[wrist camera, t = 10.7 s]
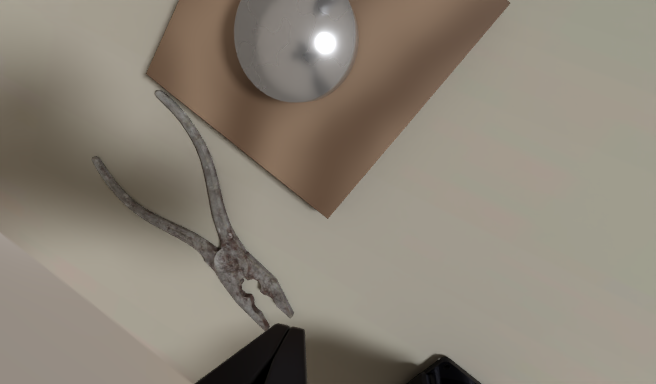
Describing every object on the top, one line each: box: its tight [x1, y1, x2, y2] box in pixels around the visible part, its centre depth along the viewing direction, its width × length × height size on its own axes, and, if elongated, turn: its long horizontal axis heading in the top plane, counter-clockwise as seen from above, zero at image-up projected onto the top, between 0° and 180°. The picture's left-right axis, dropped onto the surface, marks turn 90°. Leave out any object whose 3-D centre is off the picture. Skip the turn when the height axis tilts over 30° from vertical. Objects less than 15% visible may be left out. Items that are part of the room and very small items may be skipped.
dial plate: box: [146, 0, 510, 219], centre depth 18 cm, size 15×15×2 cm
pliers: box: [92, 90, 294, 331], centre depth 24 cm, size 10×1×20 cm
